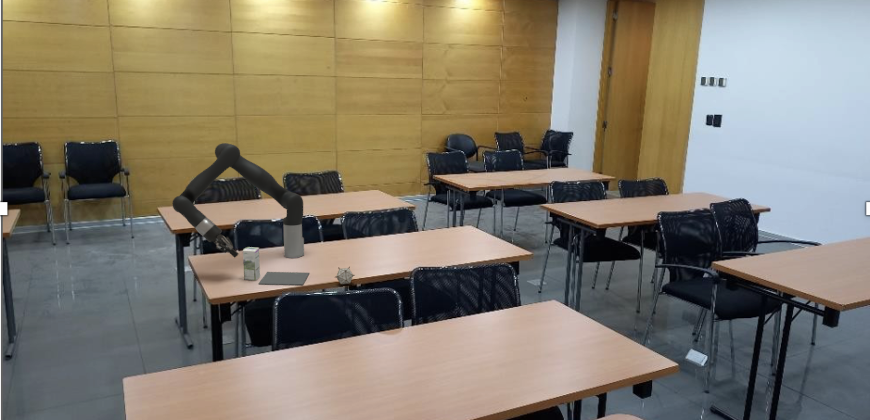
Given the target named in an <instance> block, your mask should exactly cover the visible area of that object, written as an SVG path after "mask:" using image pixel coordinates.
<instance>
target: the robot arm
mask: <svg viewBox="0 0 870 420" xmlns="http://www.w3.org/2000/svg"><path fill="white" fill-rule="evenodd" d="M214 149H215V150H214V154H215V157H216V160H215V161H214V162H213V163H212V164H211V165H209V166H208V167H207V168H205V169H204V170H203V171H201V172H199V173H198V174H197V175H196V176H195V177H194V178H193V179H192V180H191V181H190V182H189V183H188V185H186V186H185V189H184V190H183V191H182V193H180V194H179V195H178V196H176V197H174V198H173V199H172V208H173V210H174V211H175V212H177V213H179V214H181V215H182V217H184V218H185V220H187V222H188V223H189V224H190V225H191V226H192V227H193V228H194V229H196V231H197V233H199V234H200V235H201V236H202V237H203V238H204V239H205V240H206V241H207V242H209V243H212V242H213V243H214V244H215V245H216V246H215V249H216V250H218V251H221V252H223V253H225V254H226V253H228V254H229V255H230V256H232V257H233V258H234V259H235V258H236V257H238V255H239V253H238V251H236V250H235V249H234V244H233V243H232V241H231V239H230V237H229V236H226V237H225V236H224V235H223V234H221V233H222V232H223V230H222V229H221V228H220V227H219V226H217V224H215V223H214V222H213V221H212V220H211V219H210V218H208V217H207V216H206V215H205V214H204V213H203V212H202V211H200V210H199V209H198V208H197V207H196V206H195V205H194V202H196V200H197V199H198V198H199V197H200V196H201V195H202V194H203V193H205V191H206V190H207V189H208V188H209V187H210V185H211V184H212V183H213V182H214V181H216V179H218V177H220V176H221V175H222V174H223V173H224V172H225V171H226V170H227V169H229V168H231V169H233V170H234V171H236V173H238V174H239V175H240V176H242V178H243V179H244V180H247V182H249V183H250V185H253V187H255V188H256V189H258V190H260V192H263V193H264V194H266V195H268V196H270V197H271V198H272V199H273V200H275V202H277V203H278V204H279V205H280V207H282V208H283V209H285V210H286V217H284V218H283V244H284V246H283V250H284V251H283V252H284V253H283V254H284V255H283V256H284V257H285V258H288V259H296V258H301V257H303V256H305V244H304V243H305V237H303V226H302V225H303V218H304V199H303V197H302V196H301V195H300V194H297V193H295V192H292V191H291V190H288V189H286V188H285V187H284V186H282V185H280V184H279V183H278V182H277V180H276V179H275V177H274V176H273V175H272V174H270V173H269V172H268V171H267V170H265V168H263V167H261V166H259V165H258V164H257V163H254V162H252V161H250V160H248V159H246V158H245V157H243V156H242V155H241V150H240V149H239V147H238V146H237V145H234V144H232V143H227V142H226V143H219V144H218V145H216V146H215V148H214Z"/></svg>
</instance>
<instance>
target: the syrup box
mask: <svg viewBox="0 0 870 420" xmlns="http://www.w3.org/2000/svg"><path fill="white" fill-rule="evenodd" d="M242 258H243V259H242V261H243V279H244V281H258V279H259V278H260V277H261V270H260V269H261V268H260V247H252V246H251V247H250V246H247V247H245V248H243V250H242Z"/></svg>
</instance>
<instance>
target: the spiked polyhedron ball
mask: <svg viewBox="0 0 870 420" xmlns="http://www.w3.org/2000/svg"><path fill="white" fill-rule="evenodd" d="M350 267H351V266H349V267H345V268H340V267H338V271H337V274H336V276H334V278H335V279H337V281H338V283H339V287H340V286H341V285H348V284H349V285H351V286H352V283H351V282H352V280H353V277H354V276H355V275H356V274H353V273H352V271H351V269H350Z"/></svg>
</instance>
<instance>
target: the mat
mask: <svg viewBox="0 0 870 420" xmlns="http://www.w3.org/2000/svg"><path fill="white" fill-rule="evenodd" d="M309 275H310V272H298V271H297V272H295V271H293V272H291V271H266V273H265V274H264V275H263V277H262V278H261V280H260V281H259V282H258V285H263V286H265V285H266V286H300V287H301V286H302V287H303V286H304V284H305V282H306V281H307V279H308V277H309Z"/></svg>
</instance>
